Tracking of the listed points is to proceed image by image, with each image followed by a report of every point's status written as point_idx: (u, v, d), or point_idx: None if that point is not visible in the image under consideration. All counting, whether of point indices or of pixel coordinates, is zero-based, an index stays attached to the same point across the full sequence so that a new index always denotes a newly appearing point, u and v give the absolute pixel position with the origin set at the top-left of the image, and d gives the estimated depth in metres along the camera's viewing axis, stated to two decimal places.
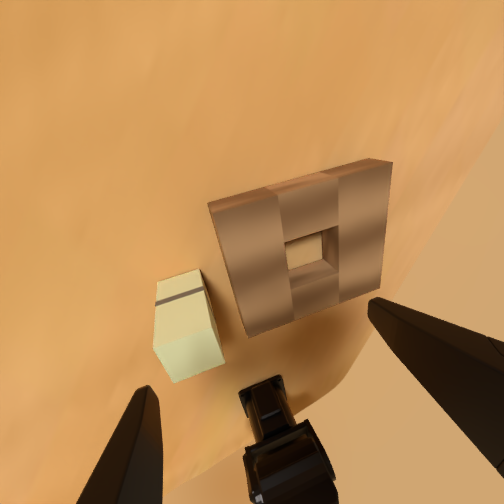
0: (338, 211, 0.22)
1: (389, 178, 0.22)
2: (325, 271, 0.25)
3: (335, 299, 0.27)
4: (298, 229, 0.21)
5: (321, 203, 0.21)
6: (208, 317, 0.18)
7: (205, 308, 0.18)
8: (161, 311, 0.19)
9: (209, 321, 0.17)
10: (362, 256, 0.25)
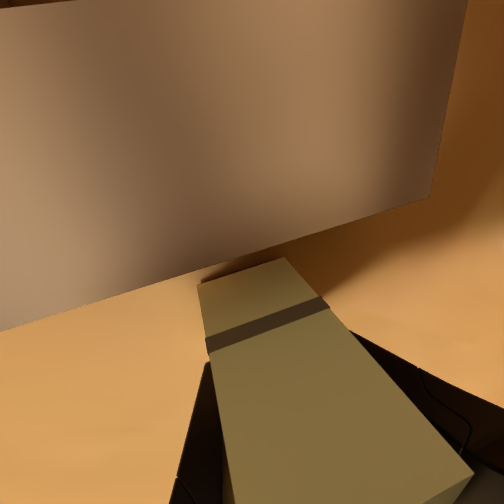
0: None
1: None
2: None
3: None
4: None
5: None
6: (237, 502, 0.04)
7: (225, 444, 0.05)
8: None
9: None
10: None
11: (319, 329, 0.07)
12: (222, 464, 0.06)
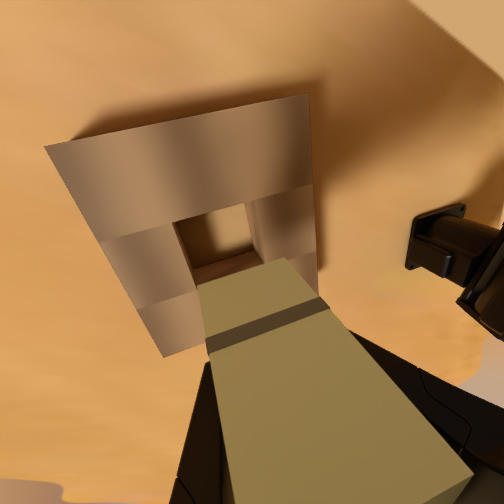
0: (150, 228, 0.15)
1: (75, 144, 0.12)
2: (252, 210, 0.17)
3: (302, 192, 0.17)
4: (179, 277, 0.17)
5: (140, 257, 0.15)
6: (237, 503, 0.04)
7: (226, 444, 0.05)
8: None
9: None
10: (229, 160, 0.14)
11: (319, 330, 0.07)
12: (222, 464, 0.06)
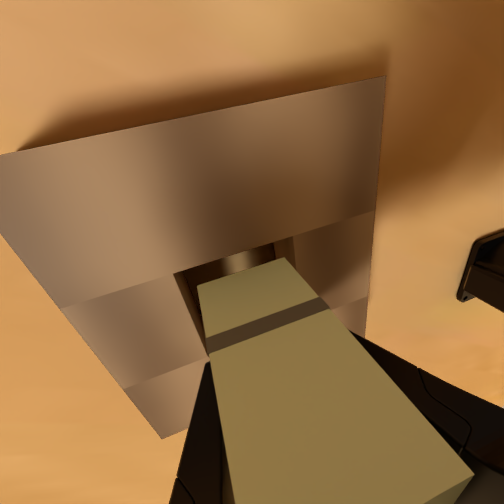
0: (140, 283, 0.10)
1: (7, 160, 0.07)
2: (287, 247, 0.12)
3: (359, 223, 0.12)
4: (183, 344, 0.12)
5: (126, 322, 0.10)
6: (237, 503, 0.04)
7: (226, 444, 0.05)
8: None
9: None
10: (261, 180, 0.09)
11: (319, 330, 0.07)
12: (222, 464, 0.06)
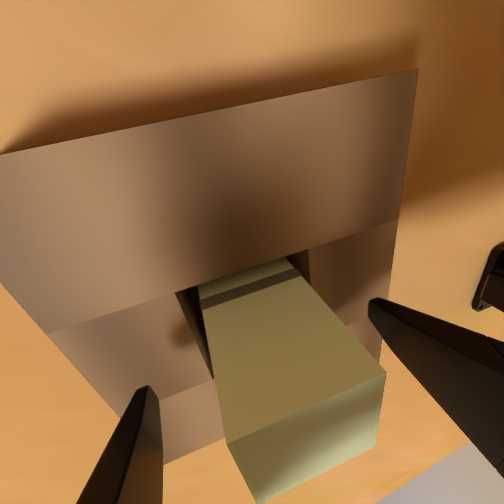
0: (137, 304, 0.09)
1: None
2: (300, 259, 0.11)
3: (381, 233, 0.11)
4: (186, 367, 0.11)
5: (122, 346, 0.09)
6: (219, 398, 0.06)
7: (213, 367, 0.07)
8: None
9: (222, 416, 0.06)
10: (275, 188, 0.08)
11: (291, 290, 0.09)
12: None
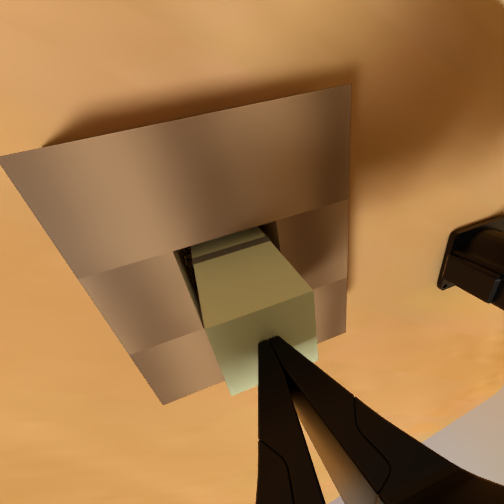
0: (145, 259, 0.12)
1: (41, 153, 0.09)
2: (272, 231, 0.14)
3: (335, 210, 0.13)
4: (182, 315, 0.14)
5: (133, 293, 0.12)
6: (202, 310, 0.09)
7: (199, 295, 0.10)
8: None
9: (203, 318, 0.09)
10: (247, 171, 0.11)
11: (261, 250, 0.12)
12: (301, 428, 0.06)
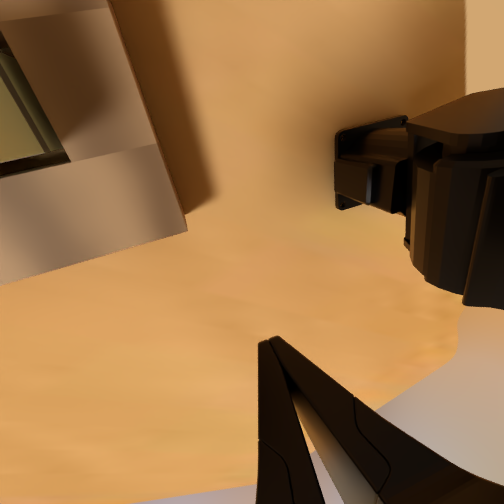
0: None
1: None
2: None
3: (93, 23, 0.10)
4: None
5: None
6: None
7: None
8: None
9: None
10: None
11: None
12: (301, 428, 0.06)
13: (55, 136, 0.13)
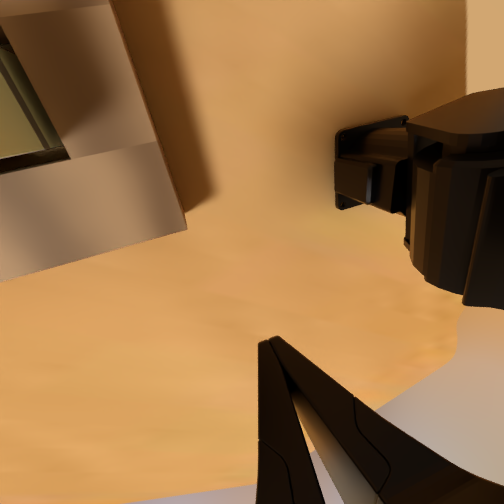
0: None
1: None
2: None
3: (94, 20, 0.10)
4: None
5: None
6: None
7: None
8: None
9: None
10: None
11: None
12: (301, 428, 0.06)
13: (55, 133, 0.13)
